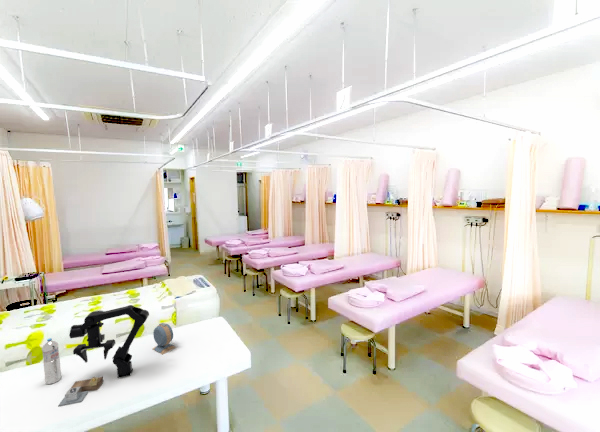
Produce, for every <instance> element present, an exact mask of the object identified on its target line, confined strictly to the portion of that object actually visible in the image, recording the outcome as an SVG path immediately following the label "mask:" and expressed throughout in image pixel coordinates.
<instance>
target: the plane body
mask: <svg viewBox="0 0 600 432" xmlns="http://www.w3.org/2000/svg"><path fill="white" fill-rule="evenodd" d="M97 378H98V380H99V382H98V383H97V385H95V386H90V383H89V382H90V381H91V379H92V378H90V379H89V378H88V379H81V380H78V381H75V382H73V384H72V386H71V387H70V388H75V387H80V386H81V390H82V392H84V391H88V392H90V391H96V390H99V389H100V388H101V386H102V384H103V383H104V378H103V376H100V377H97Z"/></svg>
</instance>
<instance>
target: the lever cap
mask: <svg viewBox="0 0 600 432" xmlns="http://www.w3.org/2000/svg"><path fill="white" fill-rule="evenodd" d="M81 394H82V390H81V386H80V387H75V388H71V387H70V388H69V389H68V390H67V391H66V393H65V394H64V397H65V402H71V401H76V400H78V398H79V397H80V395H81Z"/></svg>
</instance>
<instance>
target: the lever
mask: <svg viewBox="0 0 600 432" xmlns="http://www.w3.org/2000/svg"><path fill="white" fill-rule="evenodd" d="M98 378H99V377H95V376H94V377H92V378H90V379H91V381H90V382H89V383H90V386H95V385H97V383H98V382H99V380H98Z"/></svg>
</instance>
